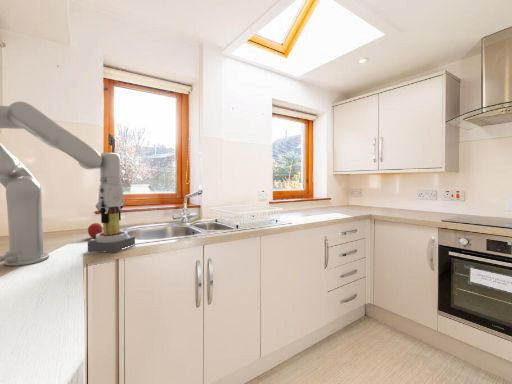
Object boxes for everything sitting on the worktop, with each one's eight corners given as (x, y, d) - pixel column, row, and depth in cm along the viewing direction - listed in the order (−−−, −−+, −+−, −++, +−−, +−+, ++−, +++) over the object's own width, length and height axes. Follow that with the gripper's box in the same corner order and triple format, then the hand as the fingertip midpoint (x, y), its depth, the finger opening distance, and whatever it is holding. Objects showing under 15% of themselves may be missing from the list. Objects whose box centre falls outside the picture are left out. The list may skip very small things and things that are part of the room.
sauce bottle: (122, 235, 118) (122, 192, 117) (113, 238, 112) (113, 192, 111) (109, 235, 118) (108, 192, 118) (99, 238, 112) (99, 192, 112)
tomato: (85, 222, 132) (102, 218, 136) (88, 229, 138) (104, 225, 142) (88, 235, 129) (105, 231, 133) (91, 242, 135) (107, 238, 139)
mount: (114, 252, 108) (114, 237, 107) (87, 251, 110) (87, 236, 110) (134, 245, 121) (134, 231, 120) (110, 243, 123) (110, 230, 123)
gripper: (102, 181, 105) (103, 225, 106) (131, 181, 122) (131, 219, 122) (86, 181, 106) (87, 224, 107) (117, 181, 123) (118, 218, 124)
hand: (111, 221), depth 115 cm, fingers open, 6 cm apart
